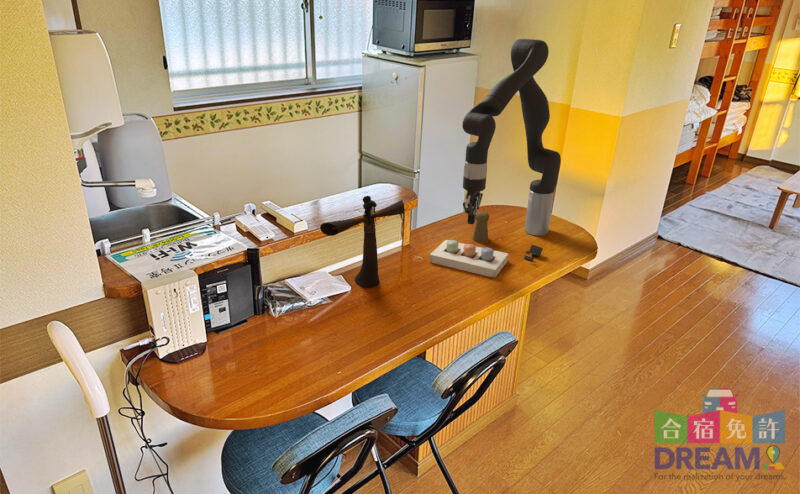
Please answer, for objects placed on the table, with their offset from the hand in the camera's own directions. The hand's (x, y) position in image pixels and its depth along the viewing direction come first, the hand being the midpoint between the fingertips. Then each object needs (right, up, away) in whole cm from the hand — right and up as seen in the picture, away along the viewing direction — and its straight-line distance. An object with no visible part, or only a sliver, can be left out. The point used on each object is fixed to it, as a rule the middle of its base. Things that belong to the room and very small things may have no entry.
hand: (471, 223), depth 187 cm
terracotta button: (0, -11, +5) cm, 13 cm away
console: (0, -13, +6) cm, 15 cm away
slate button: (+6, -13, +3) cm, 14 cm away
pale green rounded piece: (-6, -10, +8) cm, 14 cm away
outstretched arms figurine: (-35, -19, -7) cm, 41 cm away
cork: (+7, -5, +24) cm, 25 cm away
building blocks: (+23, -12, +10) cm, 28 cm away
